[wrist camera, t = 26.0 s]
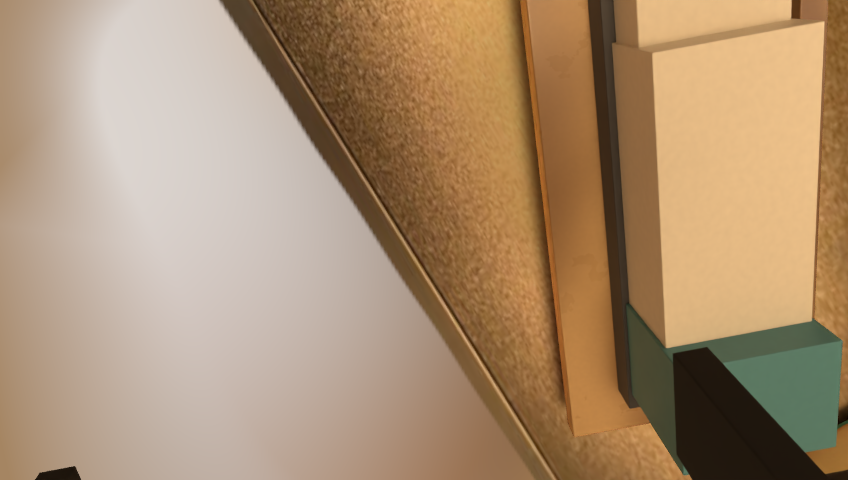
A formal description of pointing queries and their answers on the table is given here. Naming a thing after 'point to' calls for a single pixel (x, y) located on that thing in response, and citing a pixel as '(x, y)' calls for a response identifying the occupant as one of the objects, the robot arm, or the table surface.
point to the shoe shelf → (587, 205)
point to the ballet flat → (833, 453)
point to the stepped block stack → (714, 202)
